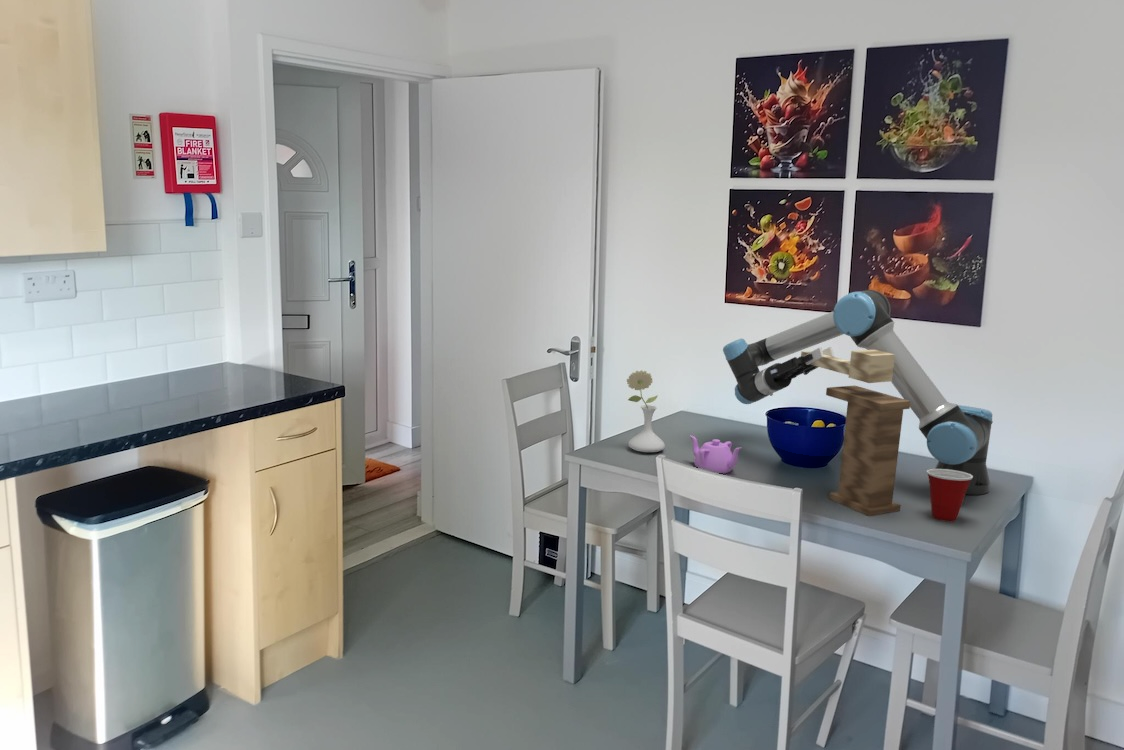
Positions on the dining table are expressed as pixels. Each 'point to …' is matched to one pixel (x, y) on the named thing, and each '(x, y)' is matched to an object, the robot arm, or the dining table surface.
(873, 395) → the walnut stand
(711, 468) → the teapot
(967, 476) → the plastic cup
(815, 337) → the robot arm
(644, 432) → the flower in vase
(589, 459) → the dining table surface
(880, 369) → the meat mallet
